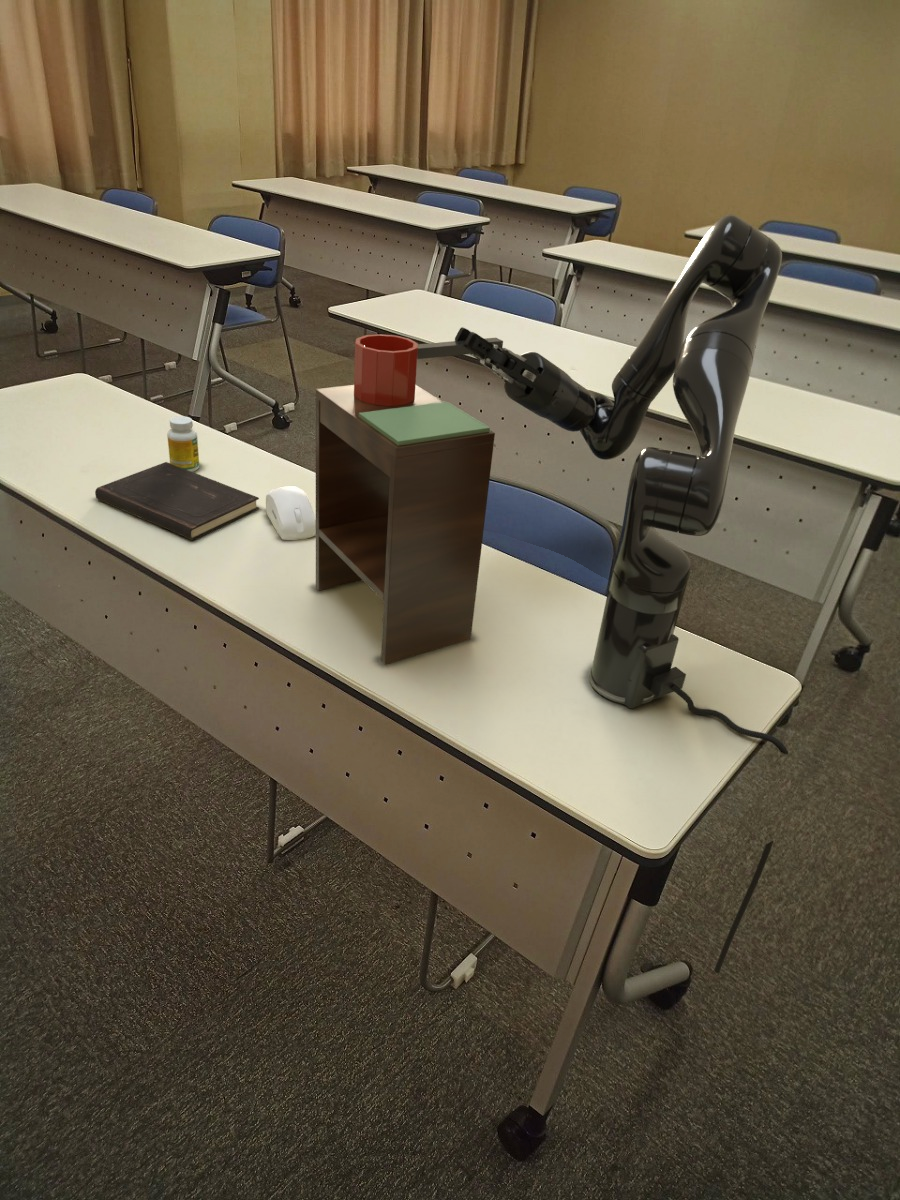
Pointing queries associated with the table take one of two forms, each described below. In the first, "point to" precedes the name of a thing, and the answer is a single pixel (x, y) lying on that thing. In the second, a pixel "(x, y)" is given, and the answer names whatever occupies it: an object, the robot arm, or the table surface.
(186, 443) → the supplement bottle
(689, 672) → the table surface
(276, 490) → the computer mouse
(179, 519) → the hardcover book
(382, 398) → the pot
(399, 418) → the green flat slab
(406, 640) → the shelf
